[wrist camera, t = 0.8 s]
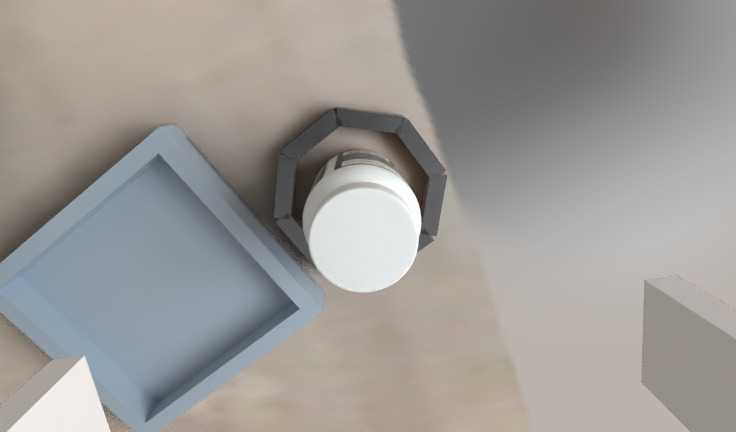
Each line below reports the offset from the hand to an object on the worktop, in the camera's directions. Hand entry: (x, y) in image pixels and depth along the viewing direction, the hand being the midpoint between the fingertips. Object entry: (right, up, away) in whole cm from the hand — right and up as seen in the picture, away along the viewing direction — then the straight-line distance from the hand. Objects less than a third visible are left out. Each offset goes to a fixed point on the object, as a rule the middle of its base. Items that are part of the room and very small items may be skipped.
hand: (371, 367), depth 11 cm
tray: (-13, -1, +19) cm, 23 cm away
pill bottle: (-1, +5, +18) cm, 19 cm away
